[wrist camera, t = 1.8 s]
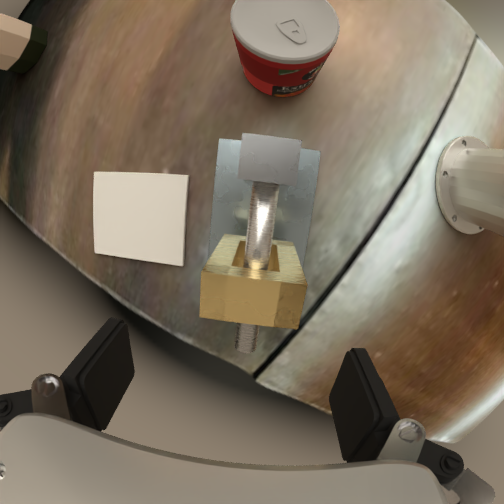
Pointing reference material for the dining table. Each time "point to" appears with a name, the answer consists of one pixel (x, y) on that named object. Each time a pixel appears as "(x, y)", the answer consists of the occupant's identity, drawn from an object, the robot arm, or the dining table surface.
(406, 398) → the dining table surface
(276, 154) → the stand
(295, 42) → the canned food
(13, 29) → the wine bottle
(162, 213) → the pad
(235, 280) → the rectangular frame block
